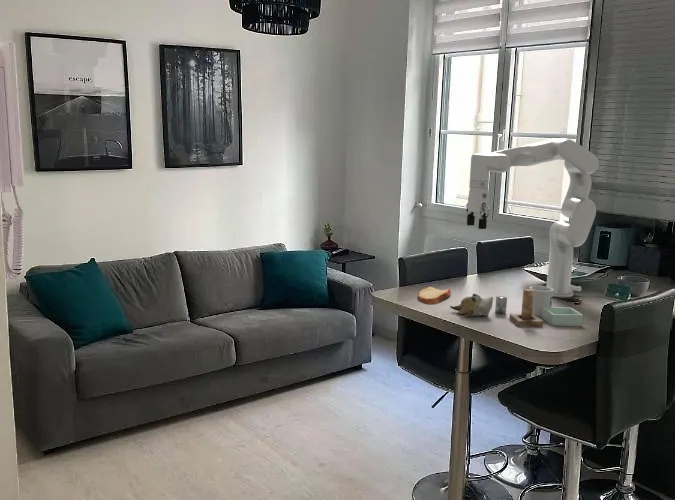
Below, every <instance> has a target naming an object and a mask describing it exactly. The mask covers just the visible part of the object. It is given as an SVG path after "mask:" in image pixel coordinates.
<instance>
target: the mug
mask: <svg viewBox="0 0 675 500" xmlns="http://www.w3.org/2000/svg"><path fill="white" fill-rule="evenodd" d="M528 289H530V290H534V296H533V307H532V314H534V315H535V316H537V317H538V318H540V317H541V315H542V307H553V306H552V305H553V304H552V303H553V297H552V296H553V292H554V290H553V289H552V288H549V287H547V286H544V285H531V286H529V287H528Z"/></svg>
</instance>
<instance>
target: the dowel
mask: <svg viewBox="0 0 675 500" xmlns="http://www.w3.org/2000/svg"><path fill="white" fill-rule="evenodd" d="M522 294H523V295H522V303H521V312H520V314H521V319H522V320H531V319H532V307H533V296H534V290H530V289H529V288H524V289H523V293H522Z"/></svg>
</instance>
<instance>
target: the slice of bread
mask: <svg viewBox="0 0 675 500" xmlns="http://www.w3.org/2000/svg"><path fill="white" fill-rule="evenodd" d="M451 294H452V292H451V289H450V287H447V289H443V290H442V289H438V288H436V287H433V286H428V287H426V288H422V290H420V291H418V296H417V300H418V301H419V302H420V303H423V304H426V305H436V304H439V303H442V302H443V301H445V300H447V298H449V297H450V296H451Z"/></svg>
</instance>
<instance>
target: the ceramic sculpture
mask: <svg viewBox="0 0 675 500" xmlns="http://www.w3.org/2000/svg"><path fill="white" fill-rule="evenodd" d="M493 299H494V297H493V296H490V297H486V298H482V297H481V296H480V295H479V294H476V293H473V294H472V296H465V297H463V299H461V302H460V304H458V305H455V306H453V305H449V308H450V309H452V310H454V311H457V312H455V314H456V315H458V316H460V317H476V316H478V315H482V316H483V317H488V316H489V314H490V311H491V310H492V307H493V301H494V300H493Z"/></svg>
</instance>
